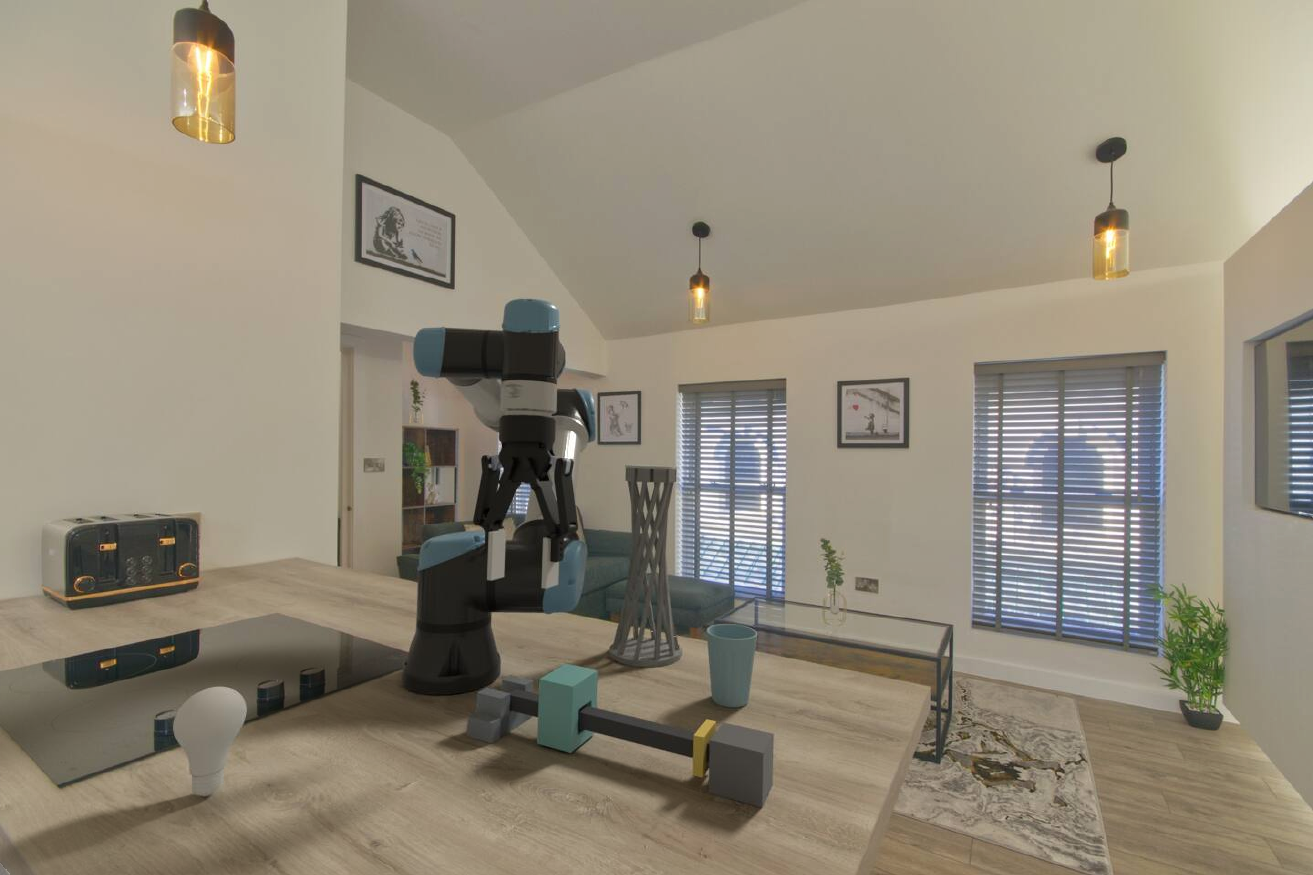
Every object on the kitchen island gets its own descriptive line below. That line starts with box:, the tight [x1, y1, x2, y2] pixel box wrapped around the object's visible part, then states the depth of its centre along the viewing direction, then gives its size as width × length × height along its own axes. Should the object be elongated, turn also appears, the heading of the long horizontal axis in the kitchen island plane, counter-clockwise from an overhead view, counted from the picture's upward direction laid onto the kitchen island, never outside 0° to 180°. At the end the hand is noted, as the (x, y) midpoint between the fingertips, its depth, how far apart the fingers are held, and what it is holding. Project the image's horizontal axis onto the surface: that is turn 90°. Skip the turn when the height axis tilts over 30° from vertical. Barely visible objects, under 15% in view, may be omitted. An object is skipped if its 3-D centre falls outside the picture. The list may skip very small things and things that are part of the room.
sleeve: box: [536, 663, 599, 754], centre depth 74 cm, size 5×6×8 cm
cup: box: [706, 623, 758, 708], centre depth 87 cm, size 8×8×10 cm
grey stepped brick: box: [466, 674, 534, 744], centre depth 78 cm, size 4×10×5 cm, turn 155°
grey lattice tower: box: [608, 464, 683, 668], centre depth 107 cm, size 14×13×35 cm
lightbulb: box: [172, 686, 248, 798], centre depth 60 cm, size 6×6×11 cm
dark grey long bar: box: [510, 689, 717, 778], centre depth 70 cm, size 34×4×4 cm, turn 66°
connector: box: [708, 721, 775, 809], centre depth 64 cm, size 6×5×6 cm
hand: (522, 582), depth 77 cm, fingers open, 8 cm apart
